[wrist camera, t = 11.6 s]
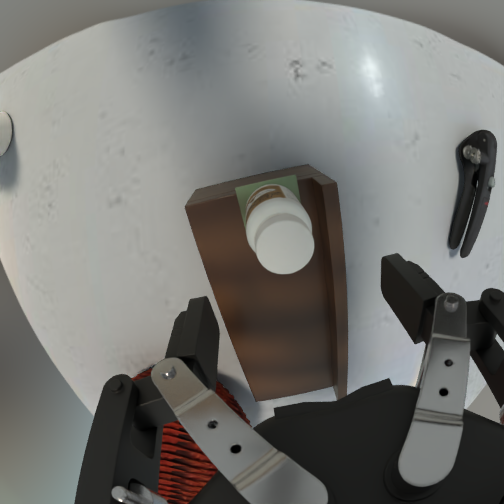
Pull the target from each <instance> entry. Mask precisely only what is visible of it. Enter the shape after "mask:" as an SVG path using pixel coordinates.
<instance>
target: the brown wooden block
mask: <svg viewBox="0 0 504 504" xmlns="http://www.w3.org/2000/svg"><path fill="white" fill-rule="evenodd" d="M268 184H277V185H281V186H284V187H286V188H288V189H289V190H290V191H292V192H293V194H294V195H295V196H296V198H297V199H298V201H299V202H300V204H301V205H302V206H303V208H304V209H305V211H306V212H307V214H308V216H309V218H310V220H311V224H312V236H313V239H314V252H313V255H312V257H311V259H310V261H309V262H308V263H307V264H306V265H305V266H304V267H303V268H302V269H300V270H298V271H296V272H294V273H290V274H277V273H273V272H271V271H269V270H267V269H266V268H265V267H263V266H262V264H261V263H260V262H259V260H258V258H257V255H256V253H255V252H254V251H253V250H252V248H251V247H250V245H249V243H248V240H247V235H246V204H247V201H248V199H249V197H250V196H251V194H252V193H253V192H254V191H255V190H256V189H258V188H260V187H261V186H264V185H268ZM185 210H186V213H187V216H188V219H189V222H190V226H191V229H192V232H193V235H194V238H195V241H196V244H197V247H198V250H199V253H200V256H201V259H202V262H203V265H204V268H205V270H206V273H207V276H208V279H209V282H210V285H211V287H212V290H213V293H214V296H215V299H216V301H217V304H218V307H219V310H220V312H221V315H222V318H223V320H224V323H225V326H226V328H227V331H228V334H229V336H230V339H231V341H232V344H233V346H234V349H235V352H236V354H237V357H238V359H239V362H240V364H241V367H242V369H243V372H244V374H245V377H246V379H247V381H248V384H249V386H250V389H251V391H252V393H253V396H254V398H255V401H256V402H258V401H265V400H271V399H276V398H282V397H287V396H292V395H297V394H302V393H307V392H311V391H316V390H320V389H324V388H328V387H332V386H333V388H334V392H335V395H336V399H337V400H339V399H341V398H343V397H345V396H347V375H348V310H347V285H346V268H345V254H344V242H343V231H342V221H341V212H340V203H339V195H338V188H337V182H335V181H334V180H332V179H331V178H329V177H328V176H326V175H324V174H323V173H321V172H320V171H318V170H317V169H315V168H314V167H312V166H310V165H309V164H307V165H302V166H297V167H292V168H287V169H282V170H277V171H272V172H267V173H263V174H258V175H254V176H249V177H245V178H240V179H236V180H232V181H228V182H224V183H220V184H216V185H212V186H208V187H204V188H200V189H197V190H195V192H194V193H193V195H192V196H191V197H190V199H189V200H188V202H187V204H186V205H185Z"/></svg>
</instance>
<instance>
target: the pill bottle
mask: <svg viewBox="0 0 504 504" xmlns="http://www.w3.org/2000/svg"><path fill="white" fill-rule="evenodd" d="M246 235H247V240H248V243H249V245H250V247H251V248H252V250H253V251H254V252H255V253H256V255H257V258H258V260H259V262H260V263H261V264H262V266H263V267H265V268H266V269H267V270H269V271H271V272H273V273H277V274H290V273H294V272H296V271H298V270H300V269H302V268H303V267H304V266H305V265H306V264H307V263H308V262H309V261H310V259H311V257H312V255H313V252H314V239H313V236H312V224H311V220H310V218H309V216H308V214H307V212H306V211H305V209H304V208H303V206H302V205H301V204H300V202H299V201H298V199H297V198H296V196H295V195H294V194H293V192H292V191H290V190H289V189H288V188H286V187H284V186H281V185H277V184H268V185H264V186H261V187H260V188H258V189H256V190H255V191H254V192H253V193H252V194H251V196H250V197H249V199H248V201H247V204H246Z"/></svg>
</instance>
